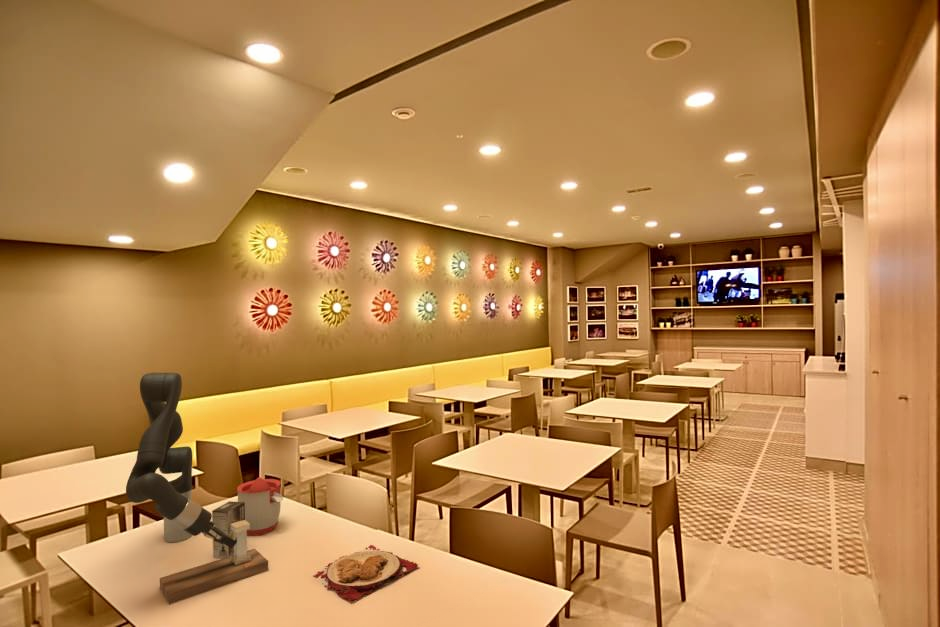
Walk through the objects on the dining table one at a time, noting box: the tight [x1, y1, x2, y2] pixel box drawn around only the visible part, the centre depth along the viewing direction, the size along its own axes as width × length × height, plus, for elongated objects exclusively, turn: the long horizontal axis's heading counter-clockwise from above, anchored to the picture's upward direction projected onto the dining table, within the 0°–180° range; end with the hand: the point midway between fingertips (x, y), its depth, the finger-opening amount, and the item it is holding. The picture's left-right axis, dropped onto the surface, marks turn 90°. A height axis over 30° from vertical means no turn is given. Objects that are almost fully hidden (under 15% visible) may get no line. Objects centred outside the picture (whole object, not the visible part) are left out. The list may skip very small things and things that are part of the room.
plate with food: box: [312, 544, 419, 601], centre depth 161 cm, size 25×26×4 cm
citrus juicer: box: [236, 477, 284, 536], centre depth 194 cm, size 16×17×20 cm
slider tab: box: [230, 520, 251, 565], centre depth 163 cm, size 5×5×12 cm
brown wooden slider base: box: [159, 548, 269, 605], centre depth 158 cm, size 12×28×3 cm, turn 132°
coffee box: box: [211, 500, 245, 559], centre depth 176 cm, size 9×6×16 cm
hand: (233, 544), depth 162 cm, fingers closed
